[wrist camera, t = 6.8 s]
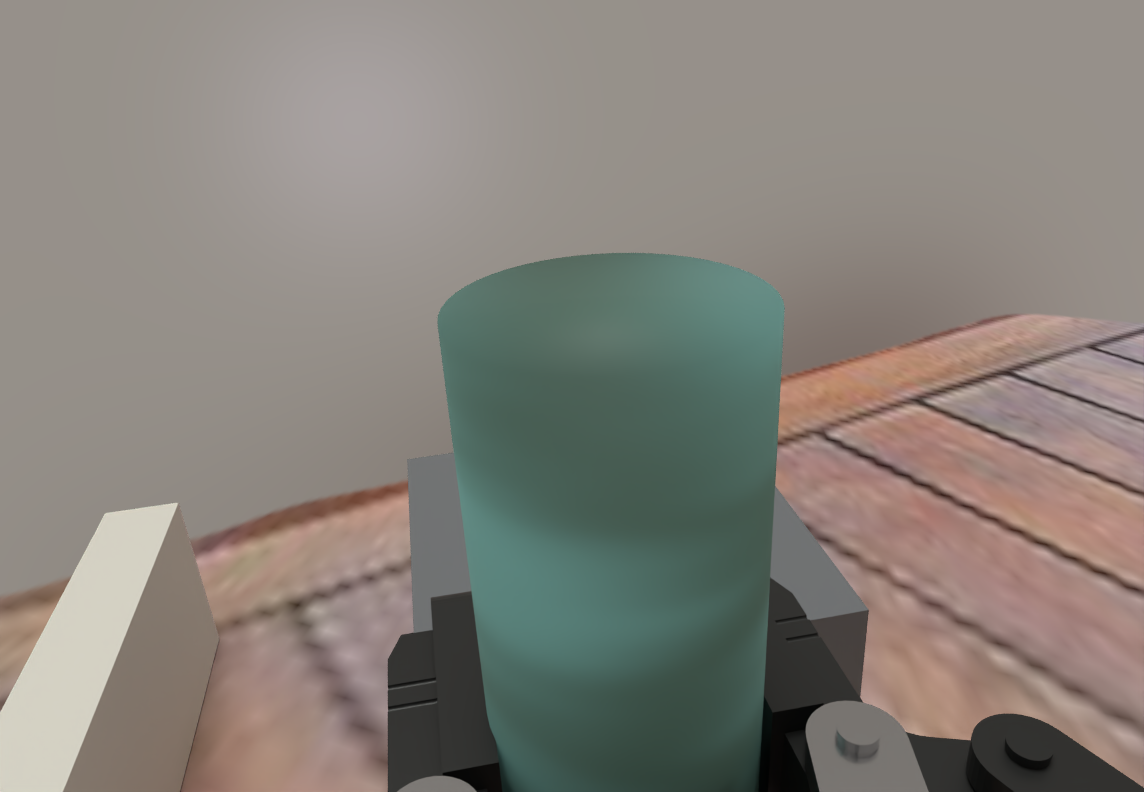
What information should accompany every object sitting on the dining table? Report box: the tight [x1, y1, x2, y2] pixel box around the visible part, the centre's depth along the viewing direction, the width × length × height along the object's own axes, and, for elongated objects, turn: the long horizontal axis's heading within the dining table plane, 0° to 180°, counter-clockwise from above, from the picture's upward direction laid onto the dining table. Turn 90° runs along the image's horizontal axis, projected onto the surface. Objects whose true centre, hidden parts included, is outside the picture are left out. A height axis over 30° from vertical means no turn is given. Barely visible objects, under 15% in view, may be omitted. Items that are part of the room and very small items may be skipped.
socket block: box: [407, 453, 869, 697], centre depth 28 cm, size 11×11×7 cm
